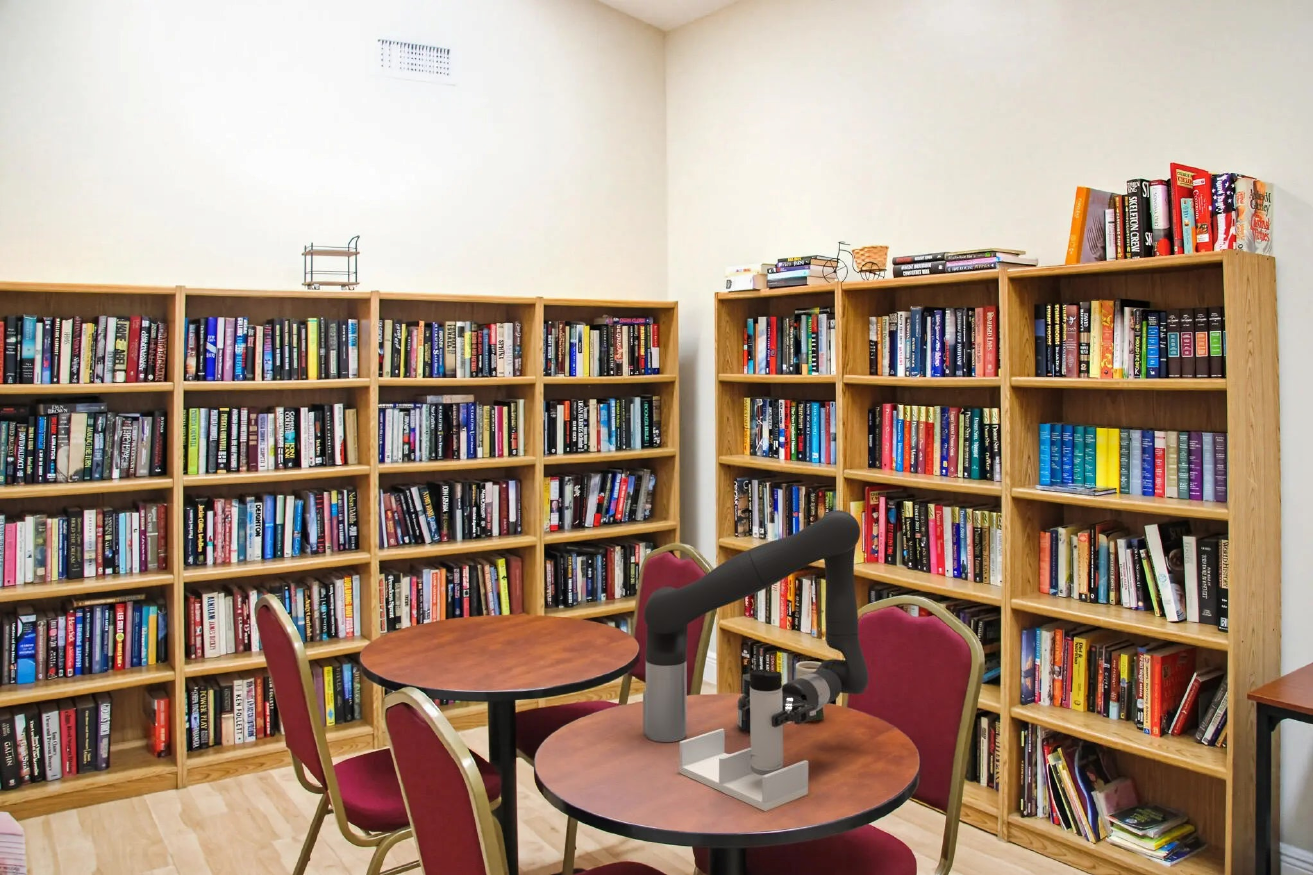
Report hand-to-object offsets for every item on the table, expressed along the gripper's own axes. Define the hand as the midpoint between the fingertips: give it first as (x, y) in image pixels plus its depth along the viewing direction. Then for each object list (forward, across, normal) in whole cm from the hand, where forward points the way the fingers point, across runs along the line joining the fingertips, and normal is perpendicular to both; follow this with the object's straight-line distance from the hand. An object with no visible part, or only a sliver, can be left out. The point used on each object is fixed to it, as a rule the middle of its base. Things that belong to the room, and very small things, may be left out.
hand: (758, 718), depth 195 cm
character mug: (-44, -15, +16) cm, 49 cm away
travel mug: (-3, 0, +11) cm, 12 cm away
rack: (-3, -6, +15) cm, 17 cm away
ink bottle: (-31, -21, +16) cm, 41 cm away
